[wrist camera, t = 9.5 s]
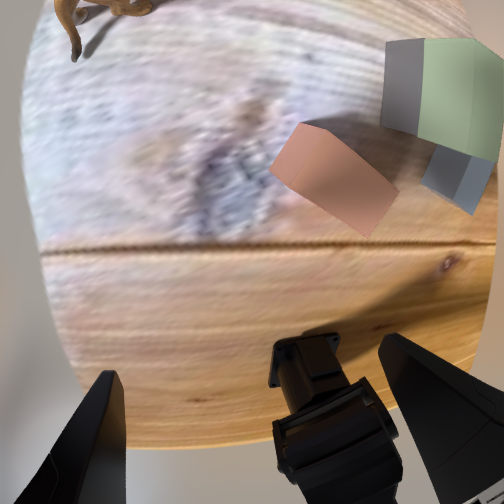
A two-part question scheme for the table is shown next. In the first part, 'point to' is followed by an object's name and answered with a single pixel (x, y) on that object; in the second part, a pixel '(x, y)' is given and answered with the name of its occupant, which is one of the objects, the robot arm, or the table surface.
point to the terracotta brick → (334, 178)
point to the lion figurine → (72, 17)
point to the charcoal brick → (403, 85)
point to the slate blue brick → (457, 177)
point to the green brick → (462, 97)
